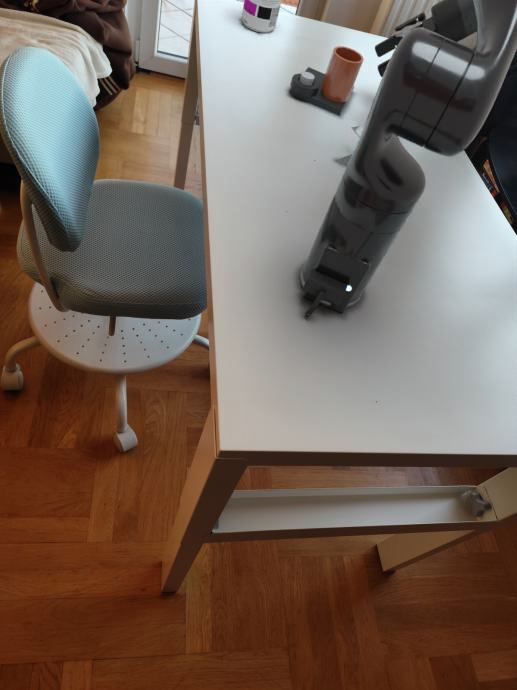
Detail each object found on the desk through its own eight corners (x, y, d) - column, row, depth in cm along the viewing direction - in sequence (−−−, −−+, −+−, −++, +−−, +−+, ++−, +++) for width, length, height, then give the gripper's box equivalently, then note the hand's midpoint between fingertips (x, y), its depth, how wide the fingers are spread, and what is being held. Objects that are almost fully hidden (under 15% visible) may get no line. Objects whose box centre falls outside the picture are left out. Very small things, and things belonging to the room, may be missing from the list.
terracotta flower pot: (337, 105, 99) (351, 65, 93) (314, 89, 101) (327, 49, 94) (354, 98, 102) (369, 59, 96) (331, 83, 104) (345, 44, 98)
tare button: (310, 88, 98) (312, 80, 97) (297, 82, 98) (299, 75, 97) (313, 82, 100) (316, 75, 99) (301, 77, 100) (303, 69, 99)
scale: (338, 118, 99) (343, 104, 97) (285, 95, 99) (289, 81, 97) (352, 92, 107) (357, 78, 104) (302, 71, 107) (306, 57, 105)
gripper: (474, 51, 87) (386, 96, 94) (461, 18, 95) (381, 62, 103) (464, 9, 82) (372, 60, 89) (451, -21, 90) (368, 28, 98)
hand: (377, 61), depth 96 cm, fingers open, 8 cm apart
